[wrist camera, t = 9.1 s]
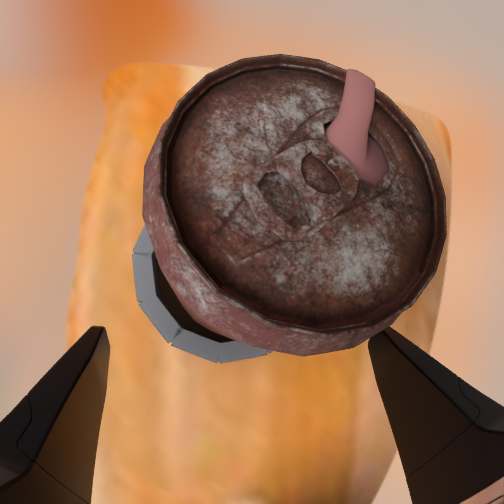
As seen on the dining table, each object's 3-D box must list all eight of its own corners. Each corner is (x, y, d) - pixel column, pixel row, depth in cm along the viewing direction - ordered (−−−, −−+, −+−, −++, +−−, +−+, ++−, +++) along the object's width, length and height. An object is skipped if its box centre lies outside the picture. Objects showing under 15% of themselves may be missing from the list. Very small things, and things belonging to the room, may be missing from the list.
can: (290, 242, 19) (448, 104, 6) (266, 344, 18) (447, 378, 4) (195, 214, 19) (213, 9, 5) (164, 317, 17) (74, 294, 4)
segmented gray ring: (270, 378, 18) (285, 389, 15) (117, 319, 17) (100, 318, 14) (318, 234, 21) (340, 217, 18) (180, 178, 20) (178, 151, 17)
